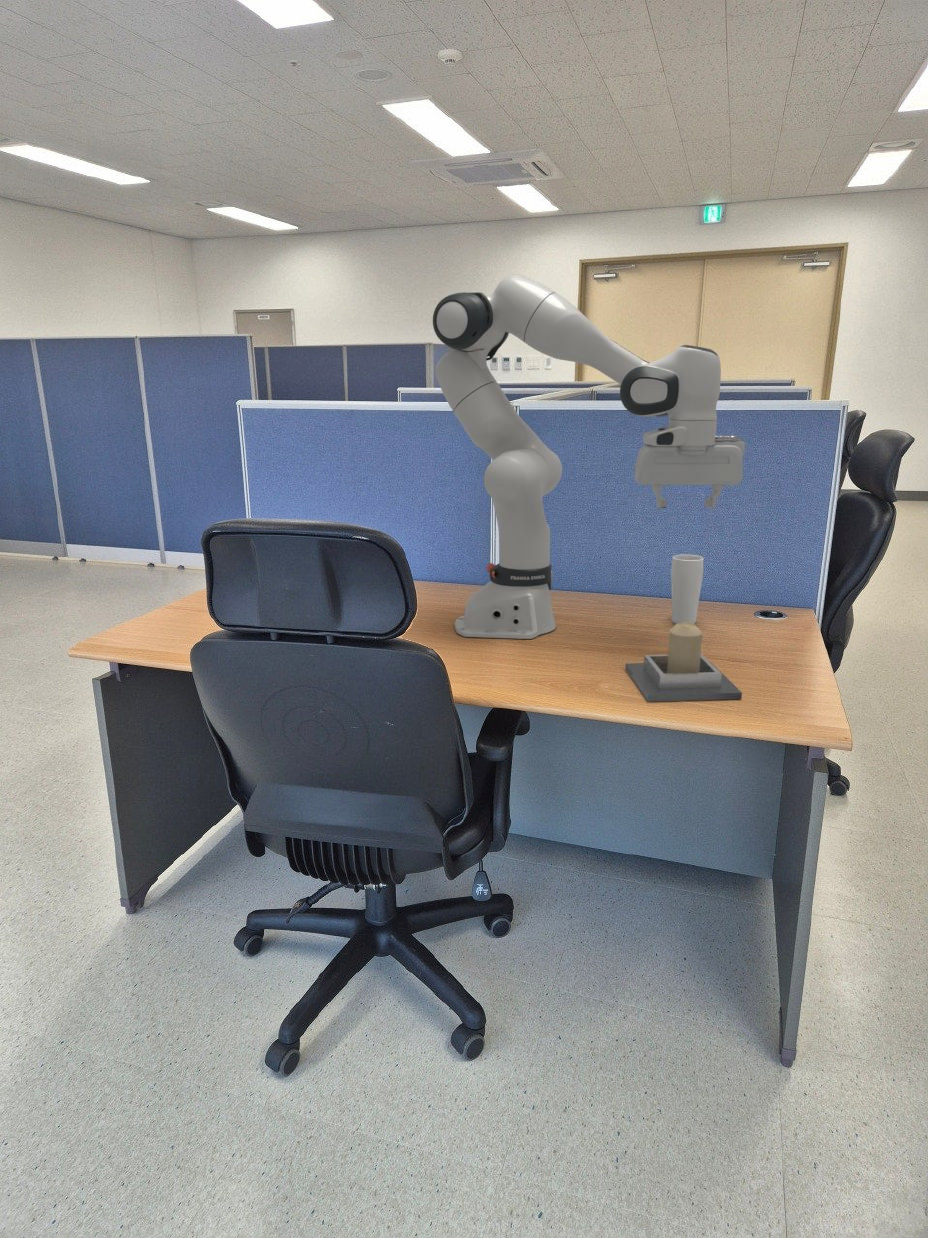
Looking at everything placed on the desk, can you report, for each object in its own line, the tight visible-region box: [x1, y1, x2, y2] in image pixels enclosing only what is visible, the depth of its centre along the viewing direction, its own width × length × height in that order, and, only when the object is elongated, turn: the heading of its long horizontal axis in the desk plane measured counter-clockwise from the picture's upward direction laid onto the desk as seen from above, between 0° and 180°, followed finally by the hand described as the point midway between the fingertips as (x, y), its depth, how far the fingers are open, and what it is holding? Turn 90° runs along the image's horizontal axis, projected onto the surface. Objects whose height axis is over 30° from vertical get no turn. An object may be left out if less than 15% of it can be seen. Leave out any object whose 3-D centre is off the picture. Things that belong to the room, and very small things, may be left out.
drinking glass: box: [670, 553, 705, 625], centre depth 174 cm, size 7×7×15 cm
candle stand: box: [625, 653, 743, 703], centre depth 139 cm, size 16×16×4 cm
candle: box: [667, 622, 703, 673], centre depth 138 cm, size 6×6×10 cm
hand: (685, 507), depth 153 cm, fingers open, 8 cm apart
